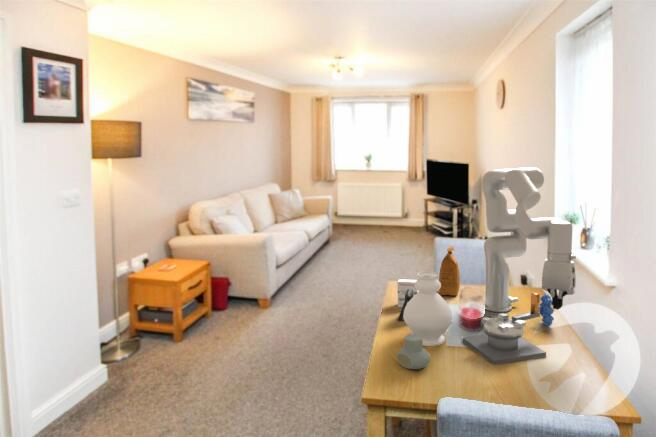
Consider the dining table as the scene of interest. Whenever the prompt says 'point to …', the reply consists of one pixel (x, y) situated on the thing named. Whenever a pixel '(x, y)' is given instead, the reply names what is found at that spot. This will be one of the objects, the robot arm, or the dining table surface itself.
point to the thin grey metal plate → (503, 349)
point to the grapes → (546, 310)
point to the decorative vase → (428, 311)
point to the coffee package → (449, 275)
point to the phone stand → (407, 299)
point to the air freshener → (413, 353)
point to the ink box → (403, 287)
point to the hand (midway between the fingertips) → (557, 308)
